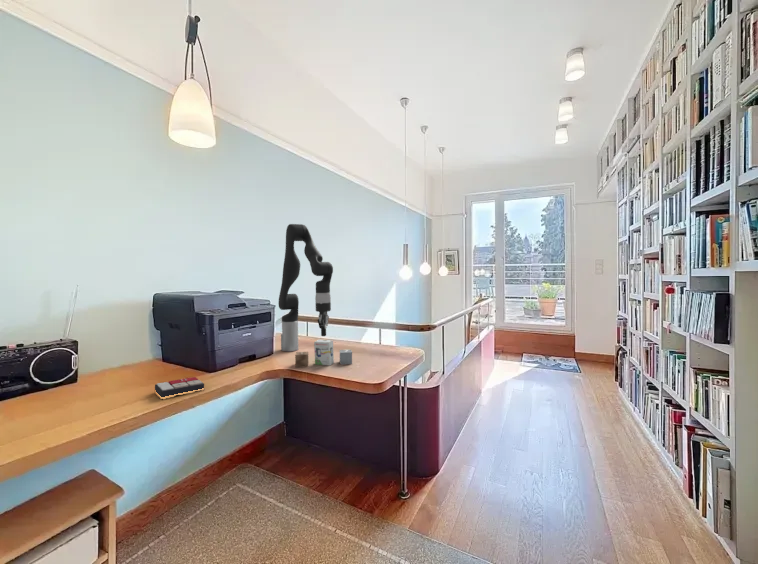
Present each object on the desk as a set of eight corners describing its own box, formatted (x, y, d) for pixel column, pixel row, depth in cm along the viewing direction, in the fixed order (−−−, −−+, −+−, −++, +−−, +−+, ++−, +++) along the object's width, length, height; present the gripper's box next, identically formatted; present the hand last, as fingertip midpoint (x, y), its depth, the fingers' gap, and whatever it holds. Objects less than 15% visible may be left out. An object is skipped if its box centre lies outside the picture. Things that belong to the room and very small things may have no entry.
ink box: (334, 363, 177) (333, 340, 177) (329, 365, 172) (329, 342, 172) (318, 361, 180) (318, 339, 179) (314, 364, 175) (313, 341, 174)
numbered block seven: (340, 364, 175) (340, 352, 174) (339, 361, 181) (339, 349, 180) (352, 364, 176) (352, 351, 175) (351, 360, 181) (351, 349, 181)
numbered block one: (295, 367, 171) (295, 354, 171) (296, 363, 177) (296, 351, 177) (308, 366, 172) (307, 354, 172) (308, 363, 178) (308, 351, 177)
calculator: (204, 381, 140) (161, 389, 129) (204, 392, 140) (161, 400, 129) (196, 375, 148) (154, 382, 137) (195, 385, 148) (154, 393, 137)
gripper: (319, 300, 182) (320, 333, 183) (311, 303, 169) (312, 338, 169) (333, 300, 181) (334, 333, 182) (327, 303, 168) (327, 338, 169)
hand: (323, 335), depth 176 cm, fingers closed
